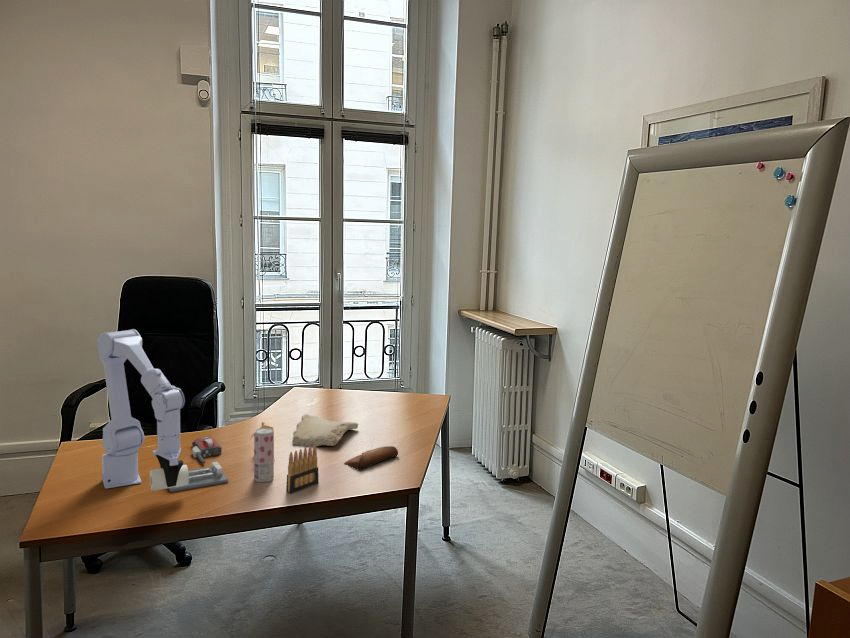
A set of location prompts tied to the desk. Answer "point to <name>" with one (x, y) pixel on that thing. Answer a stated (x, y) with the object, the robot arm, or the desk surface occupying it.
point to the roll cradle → (203, 478)
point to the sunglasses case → (372, 457)
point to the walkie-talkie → (205, 448)
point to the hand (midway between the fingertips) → (169, 482)
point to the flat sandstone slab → (320, 431)
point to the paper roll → (160, 482)
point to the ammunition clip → (302, 470)
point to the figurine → (264, 427)
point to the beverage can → (263, 455)
